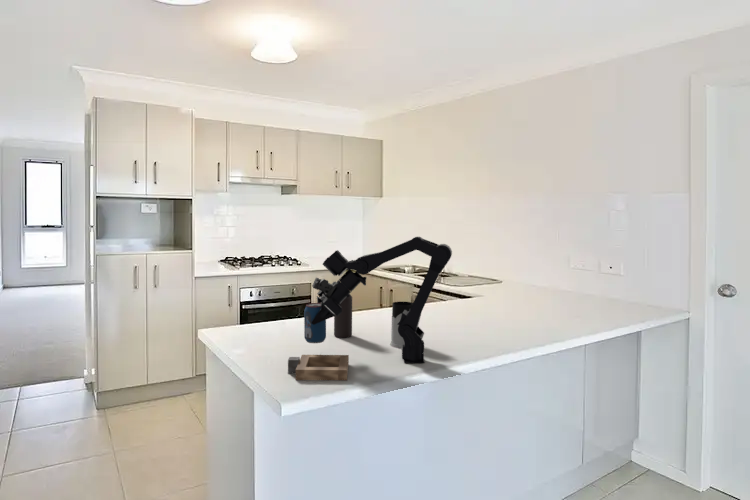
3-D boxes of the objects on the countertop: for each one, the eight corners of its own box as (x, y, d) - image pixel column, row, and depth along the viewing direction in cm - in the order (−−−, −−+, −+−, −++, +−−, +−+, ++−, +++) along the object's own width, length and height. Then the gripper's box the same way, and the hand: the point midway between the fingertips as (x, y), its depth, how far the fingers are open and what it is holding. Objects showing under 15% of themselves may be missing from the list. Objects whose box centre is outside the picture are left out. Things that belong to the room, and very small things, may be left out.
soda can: (327, 338, 167) (327, 302, 166) (323, 344, 160) (323, 306, 159) (307, 338, 168) (307, 302, 167) (302, 343, 161) (301, 306, 160)
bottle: (349, 338, 189) (349, 285, 187) (331, 337, 190) (332, 284, 188) (353, 334, 195) (354, 282, 194) (336, 333, 197) (337, 282, 195)
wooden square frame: (348, 364, 158) (348, 351, 158) (346, 380, 144) (347, 366, 143) (292, 363, 158) (292, 351, 158) (284, 379, 143) (284, 366, 143)
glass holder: (394, 348, 176) (394, 306, 175) (382, 338, 190) (383, 298, 189) (417, 347, 179) (418, 305, 177) (404, 337, 192) (405, 298, 191)
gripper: (323, 265, 172) (290, 299, 171) (331, 272, 154) (295, 310, 153) (346, 288, 175) (314, 321, 173) (356, 297, 156) (321, 334, 155)
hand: (310, 321), depth 163 cm, fingers closed on soda can, 7 cm apart
